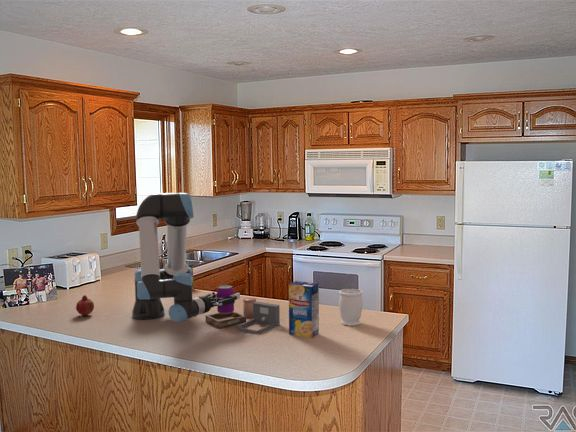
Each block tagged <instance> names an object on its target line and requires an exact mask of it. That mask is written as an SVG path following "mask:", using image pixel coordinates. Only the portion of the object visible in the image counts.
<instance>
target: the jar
mask: <svg viewBox="0 0 576 432" xmlns="http://www.w3.org/2000/svg"><path fill="white" fill-rule="evenodd" d="M338 294H339V299H338V300H339V301H338V307H339V313H340V317H341V324H342V325H344V326H349V327H353V326H359V325H361V321H360V320H361V317H362V311H363V307H364V306H363V304H364V303H363V296H362V295H363V290H361V289H357V288H344V289H343V288H342V289H340V290H339V291H338Z"/></svg>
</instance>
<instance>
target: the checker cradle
mask: <svg viewBox="0 0 576 432" xmlns="http://www.w3.org/2000/svg"><path fill="white" fill-rule="evenodd" d="M280 311H281V310H280V304H274V303H268V302H262V301H256V302H254V303H253V318H250V319H249V320H246V322H245V323H242V324H238V325H236V330H237V331H239V332H243V333H249V334H253V335H261V334H263V333H265V332H267V331H270V330H271V329H273V328H275V327H277V326H279V325H280V321H281V319H280V314H281V313H280ZM255 323H257V324H261V325H265V326H264V327H261V328H260V329H258V330H255V329H251V328H247V327H248V326H250V325H253V324H255Z"/></svg>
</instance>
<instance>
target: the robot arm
mask: <svg viewBox="0 0 576 432" xmlns="http://www.w3.org/2000/svg"><path fill="white" fill-rule="evenodd" d="M194 216H195V215H194V209H193V201H192V196H191V195H190V193H188V192H165V193H164V192H163V193H162V192H160V193H158V192H156V193H151V194H150V195H148V196H147V197H146V198H144V200H143V201H142V202H141V203H140V205H139V206H138V209H137V211H136V217H135V218H136V219H135V222H136V225H137V226H138V233H139V252H140V253H139V255H140V257H139V258H140V268H139V269H137V270H136V271H135V272H134V296H135V300H134V304H133V307H132V310H131V312H132V314H131V315H132V318H133V319H137V320H152V319H153V320H154V319H156V318H157V319H158V318H161V317H163V316H164V315H165V307H164V305H163V302H162V300H161V299H168V298H170V299H171V298H173V304H172V305H171V306H170V307H169V309H168V316H169V318H170V320H171V321H172V322H174V323H180V322H185V321H187V320H189V319H192V318H197V316H200V315H204V314H206V313H209V312H210V310H211V309H212V308H214V307H217V306H219V307H222V306H225V305H229V304H233V303H234V304H235V303H236V302H235V301H237V300H240V299H241V293H240V292H237V293H236V292H235V293H234V294H233V295H230V297H224V298H217V292H216V293H215V291H212V292H211V293H210V292H209V293H207V294H205V295H200V296H197V297H196V296H195V297H193V288H192V278H191V277H192V271H191V268H190V267H189V266H188V264H187V263H188V262H187V261H186V260H187V226H188V225H189V224H190V222H191V219H194ZM160 220H163V221H164V224H166V225H167V226H166V227H167V228H166V229H167V233H166V235H167V238H166V239H167V246H166V247H167V251H166V252H167V260H166V261H167V262H166V263H165V264H164V267H163V268H160V256H159V255H160V253H159V237H158V235H159V234H158V225H159V224H160Z"/></svg>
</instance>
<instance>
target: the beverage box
mask: <svg viewBox="0 0 576 432" xmlns="http://www.w3.org/2000/svg"><path fill="white" fill-rule="evenodd" d="M319 286H320V284H319V283H318V282H308V281H301V280H295V281H293V282H290V283H288V334H289V335H290V336H297V337H301V338H306V339H307V338H308V339H313V338H315V337H316V336H318V335H319V333H320V323H319V322H320V321H319V320H320V318H319V317H320V316H319V313H320V312H319V311H320V309H319V308H320V305H319V304H320V303H319V301H320V297H319V295H320V293H319V291H320V290H319V288H320V287H319Z"/></svg>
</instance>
